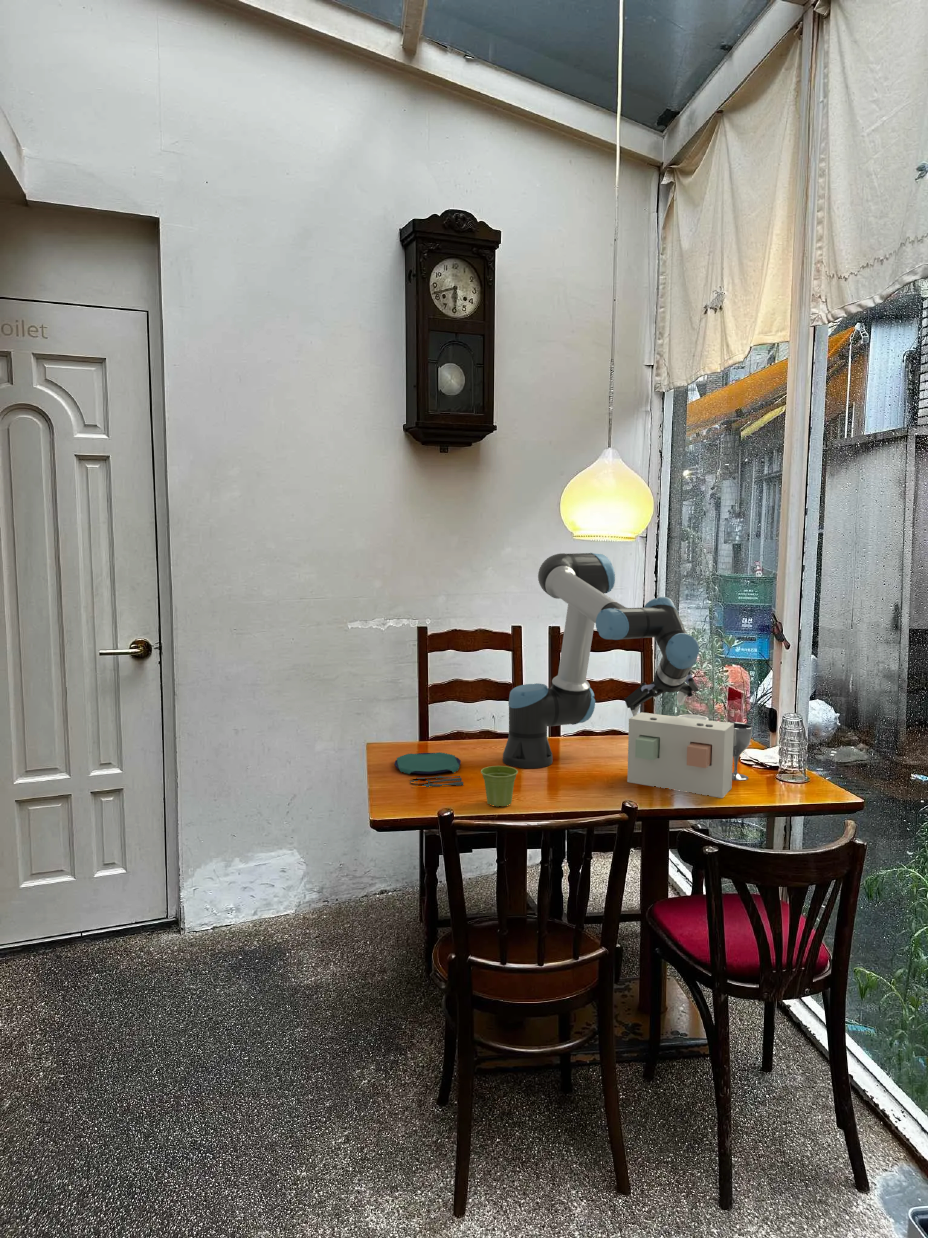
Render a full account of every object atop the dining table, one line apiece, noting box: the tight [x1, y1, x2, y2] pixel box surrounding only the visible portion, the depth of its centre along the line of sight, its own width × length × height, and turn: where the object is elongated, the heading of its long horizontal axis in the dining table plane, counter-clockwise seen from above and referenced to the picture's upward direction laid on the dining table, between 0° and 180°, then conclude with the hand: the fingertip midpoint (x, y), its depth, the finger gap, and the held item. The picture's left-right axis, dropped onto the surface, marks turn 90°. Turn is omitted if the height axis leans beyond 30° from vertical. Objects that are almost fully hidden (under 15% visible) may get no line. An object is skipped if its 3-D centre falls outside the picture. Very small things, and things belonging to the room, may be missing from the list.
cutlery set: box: [393, 752, 464, 788], centre depth 227 cm, size 20×30×2 cm, turn 8°
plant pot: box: [480, 765, 519, 807], centre depth 199 cm, size 9×9×9 cm
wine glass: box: [727, 721, 753, 782], centre depth 223 cm, size 8×8×15 cm
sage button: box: [635, 735, 660, 760], centre depth 213 cm, size 6×5×5 cm
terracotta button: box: [687, 742, 712, 768], centre depth 205 cm, size 6×5×5 cm
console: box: [626, 711, 734, 799], centre depth 214 cm, size 10×26×18 cm, turn 58°
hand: (656, 706), depth 217 cm, fingers open, 13 cm apart
